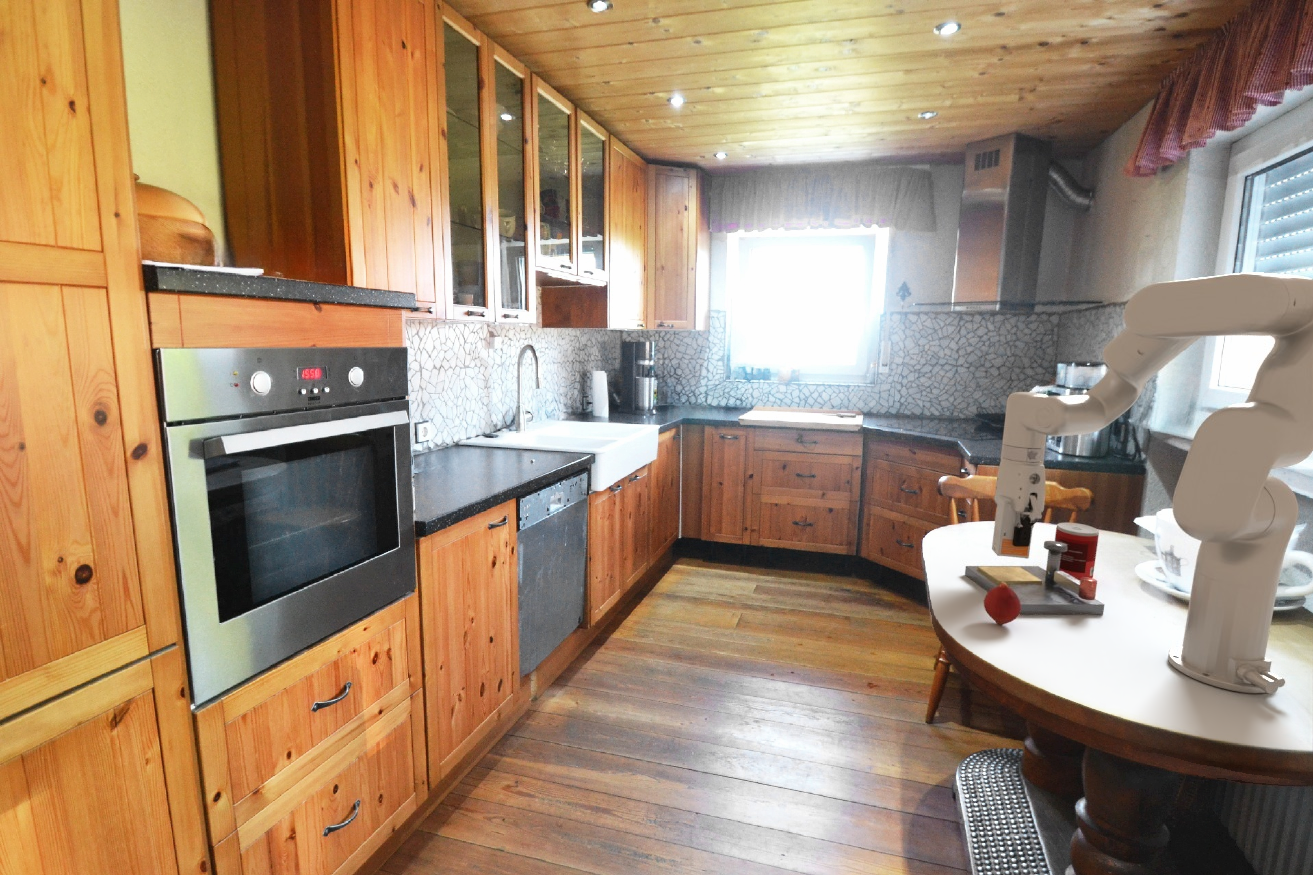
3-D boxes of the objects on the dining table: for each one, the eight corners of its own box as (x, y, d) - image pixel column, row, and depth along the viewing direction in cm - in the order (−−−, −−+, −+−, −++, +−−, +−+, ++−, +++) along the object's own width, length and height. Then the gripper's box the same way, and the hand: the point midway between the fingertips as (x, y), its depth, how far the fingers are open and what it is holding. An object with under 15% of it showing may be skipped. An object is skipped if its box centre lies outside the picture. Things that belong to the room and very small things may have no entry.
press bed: (1103, 614, 122) (1110, 563, 120) (1019, 614, 121) (1025, 563, 120) (1037, 574, 142) (1042, 530, 140) (964, 574, 141) (969, 530, 139)
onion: (1014, 619, 119) (1018, 577, 118) (1022, 633, 114) (1027, 589, 112) (979, 615, 121) (983, 574, 119) (985, 629, 115) (990, 585, 114)
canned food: (1080, 571, 145) (1086, 523, 143) (1100, 584, 137) (1107, 534, 135) (1043, 569, 145) (1049, 521, 144) (1062, 582, 138) (1068, 532, 136)
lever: (1051, 580, 131) (1053, 563, 130) (1063, 580, 131) (1065, 563, 130) (1084, 600, 121) (1086, 582, 120) (1098, 600, 121) (1100, 582, 120)
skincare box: (997, 556, 133) (1003, 499, 131) (991, 549, 137) (997, 494, 135) (1030, 559, 132) (1036, 501, 130) (1022, 552, 136) (1029, 496, 134)
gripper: (1068, 463, 123) (1056, 555, 126) (1015, 446, 140) (1006, 528, 143) (1030, 462, 122) (1018, 555, 125) (981, 446, 139) (972, 528, 142)
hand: (1012, 540), depth 134 cm, fingers closed on skincare box, 5 cm apart
